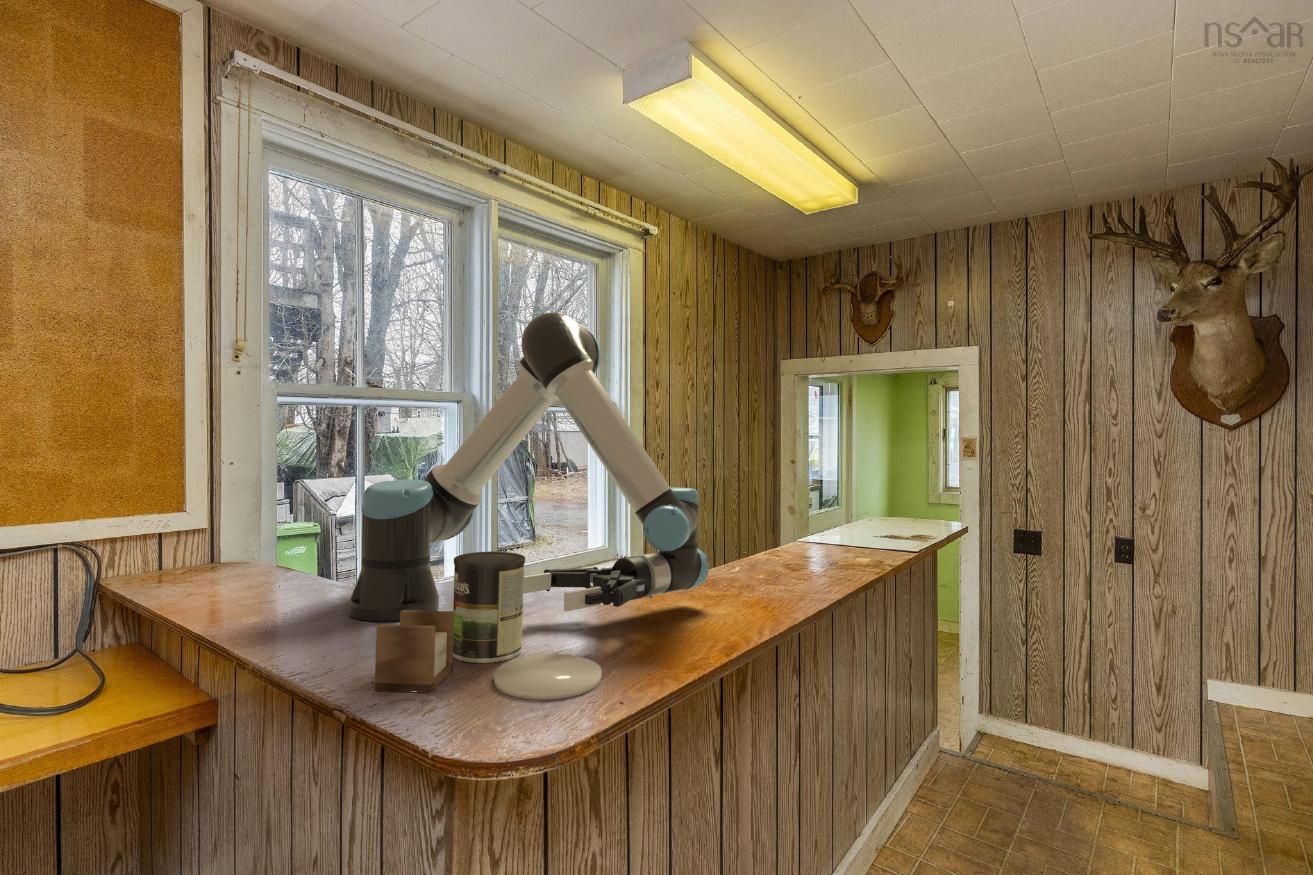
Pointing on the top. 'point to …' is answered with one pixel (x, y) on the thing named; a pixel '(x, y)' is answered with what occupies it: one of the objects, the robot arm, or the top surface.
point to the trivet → (547, 676)
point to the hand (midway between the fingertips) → (539, 593)
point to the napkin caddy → (414, 651)
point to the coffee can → (488, 606)
